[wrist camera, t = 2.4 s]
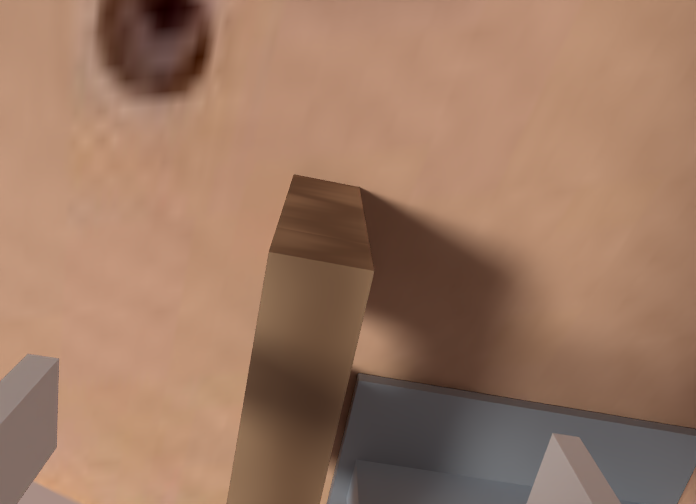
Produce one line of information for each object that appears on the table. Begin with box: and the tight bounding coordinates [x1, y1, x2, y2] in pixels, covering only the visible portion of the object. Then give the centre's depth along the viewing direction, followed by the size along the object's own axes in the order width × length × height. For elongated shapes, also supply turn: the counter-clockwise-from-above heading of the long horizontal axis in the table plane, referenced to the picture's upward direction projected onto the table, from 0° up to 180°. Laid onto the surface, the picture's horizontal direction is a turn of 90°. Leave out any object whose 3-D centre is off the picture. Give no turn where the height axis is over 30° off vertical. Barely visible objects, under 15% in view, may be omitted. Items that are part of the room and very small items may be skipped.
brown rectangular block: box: [227, 175, 374, 504], centre depth 27 cm, size 4×16×12 cm, turn 168°
